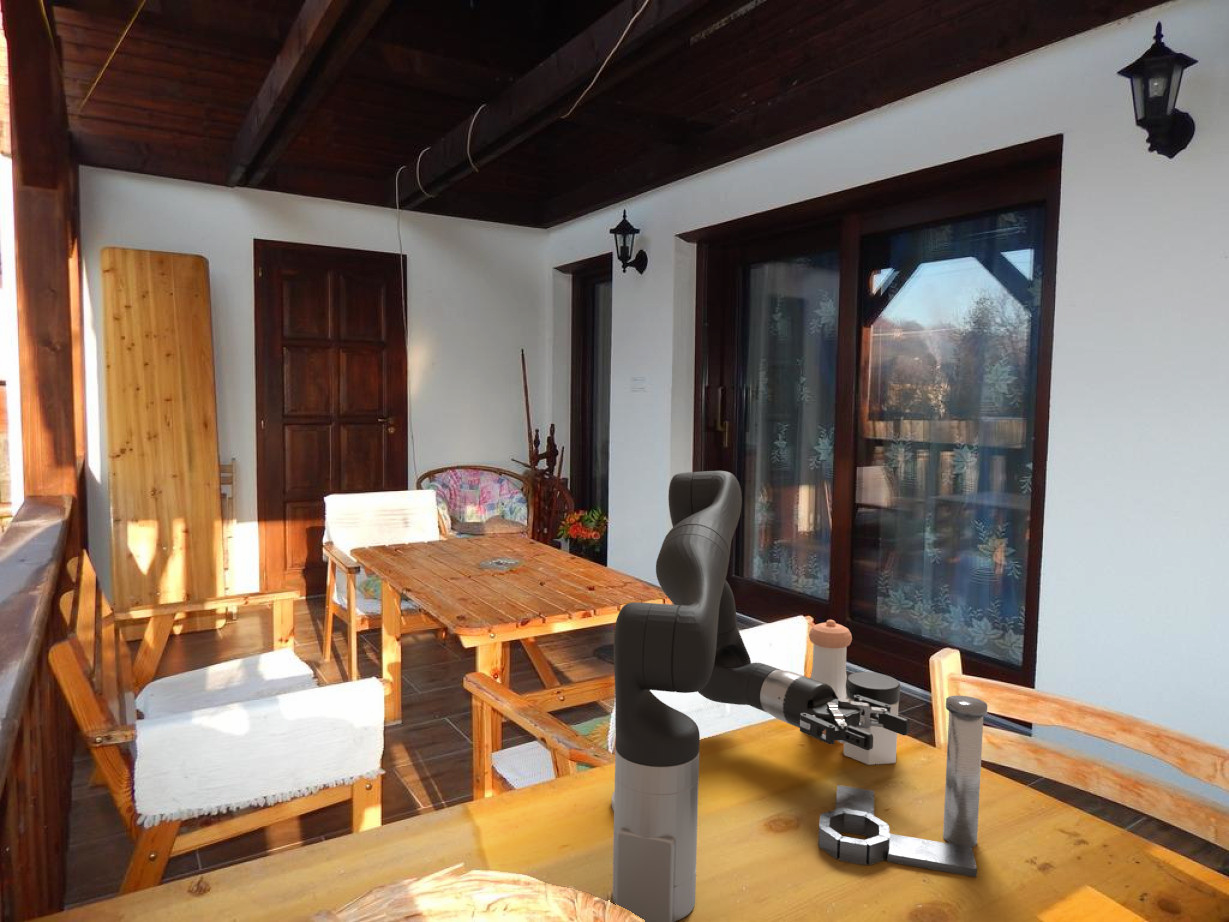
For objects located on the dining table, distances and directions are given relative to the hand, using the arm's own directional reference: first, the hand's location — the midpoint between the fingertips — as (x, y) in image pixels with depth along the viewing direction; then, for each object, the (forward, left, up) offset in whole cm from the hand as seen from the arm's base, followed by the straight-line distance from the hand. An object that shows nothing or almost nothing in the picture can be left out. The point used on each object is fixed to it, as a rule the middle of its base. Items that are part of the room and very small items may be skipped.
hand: (890, 735), depth 112 cm
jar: (+17, +2, -10) cm, 20 cm away
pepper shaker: (+24, +9, -10) cm, 28 cm away
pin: (-6, -9, -10) cm, 15 cm away
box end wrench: (-7, -1, -10) cm, 12 cm away
